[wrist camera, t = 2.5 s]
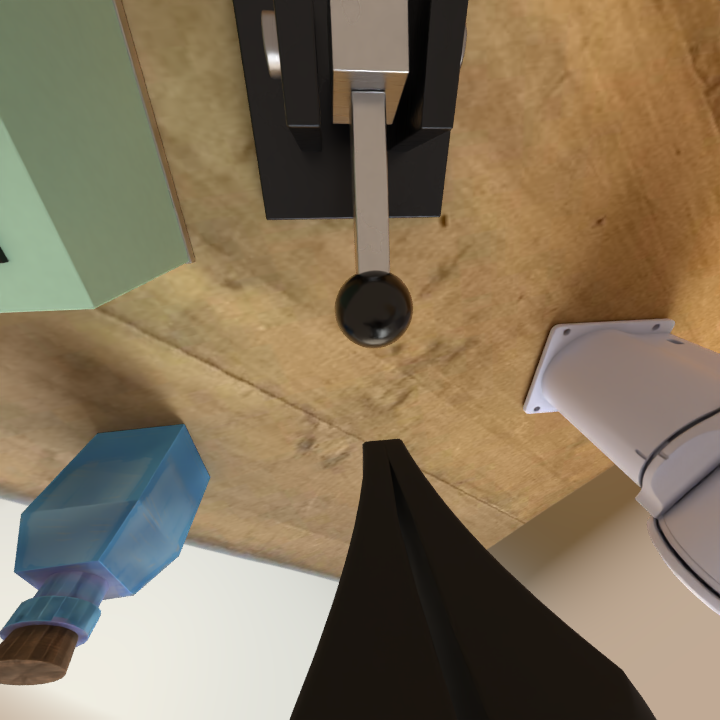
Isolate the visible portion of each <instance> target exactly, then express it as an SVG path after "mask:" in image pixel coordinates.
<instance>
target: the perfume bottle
mask: <svg viewBox="0 0 720 720" xmlns="http://www.w3.org/2000/svg"><path fill="white" fill-rule="evenodd" d="M209 479H210V476H209V474H208V472H207V470H206V468H205V466H204V464H203V462H202V460H201V458H200V455H199V453H198V451H197V449H196V447H195V445H194V443H193V441H192V439H191V437H190V435H189V433H188V430H187V428H186V426H185V424H180V425H170V426H161V427H152V428H142V429H133V430H124V431H115V432H105V433H97V434H96V435H95V436H94V438H93V439H92V440H91V441H90V442H89V443H88V444H87V445H86V446H85V447H84V448H83V449H82V450H81V451H80V452H79V453H78V454H77V456H76V457H75V458H74V459H73V460H72V461H71V462H70V463H69V464H68V465H67V466H66V467H65V468H64V469H63V470H62V471H61V472H60V474H59V475H58V476H57V477H56V478H55V479H54V480H53V481H52V482H51V483H50V484H49V485H48V486H47V487H46V488H45V489H44V490H43V492H42V493H41V494H40V495H39V496H38V497H37V498H36V499H35V500H34V501H33V502H32V503H31V504H30V505H29V506H28V507H27V508H26V510H25V511H24V512H23V513H22V514H21V519H20V528H19V535H18V544H17V552H16V560H15V568H14V572H15V573H16V574H18V575H19V576H20V577H21V578H23V579H24V580H26V581H27V582H28V583H29V584H31V585H32V586H34V587H35V588H36V589H38V592H37V593H36V595H35V596H34V597H33V598H31V599H28V600H26V601H24V602H22V603H21V604H20V606H19V607H18V608H17V610H16V611H15V613H14V614H13V615H12V617H11V618H10V620H9V621H8V622H7V623H6V625H5V626H4V627H3V629H2V630H1V631H0V637H1V638H2V639H3V640H4V641H3V642H2V643H1V644H0V684H7V685H37V684H45V683H49V682H54V681H56V680H59V679H61V678H62V677H64V676H65V674H66V671H67V668H68V666H69V663H70V661H71V658H72V655H73V652H74V649H75V647H77V646H79V645H81V644H84V643H85V642H86V641H87V640H88V638H89V636H90V634H91V632H92V631H93V629H94V627H95V625H96V623H97V621H98V619H99V617H100V615H101V611H100V610H99V608H98V607H99V605H100V603H101V601H102V600H106V599H112V598H119V597H126V596H133V595H134V594H136V593H137V592H138V591H139V590H140V589H141V588H143V587H144V586H145V585H146V584H147V583H148V582H149V581H150V580H152V579H153V578H154V577H155V576H156V575H157V574H159V573H160V572H161V571H162V570H163V569H164V568H166V567H167V566H168V565H169V564H170V563H171V562H172V561H174V560H175V559H176V558H177V557H178V556H179V554H180V552H181V549H182V547H183V544H184V542H185V539H186V537H187V534H188V532H189V529H190V527H191V524H192V522H193V519H194V517H195V514H196V512H197V509H198V507H199V504H200V502H201V499H202V497H203V494H204V492H205V489H206V487H207V484H208V482H209Z"/></svg>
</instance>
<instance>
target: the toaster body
mask: <svg viewBox="0 0 720 720" xmlns="http://www.w3.org/2000/svg"><path fill="white" fill-rule="evenodd" d="M193 262H195V258H194V254H193V251H192V247H191V244H190V240H189V236H188V233H187V229H186V226H185V222H184V219H183V215H182V212H181V208H180V205H179V201H178V198H177V194H176V191H175V187H174V184H173V180H172V177H171V173H170V170H169V166H168V163H167V159H166V156H165V152H164V149H163V145H162V142H161V138H160V135H159V131H158V128H157V124H156V121H155V117H154V114H153V110H152V107H151V103H150V100H149V96H148V93H147V89H146V86H145V82H144V79H143V75H142V72H141V68H140V65H139V61H138V58H137V54H136V51H135V47H134V44H133V40H132V37H131V33H130V30H129V26H128V22H127V19H126V15H125V12H124V8H123V5H122V1H121V0H0V313H5V312H30V311H55V310H79V309H95V308H97V307H99V306H101V305H103V304H105V303H107V302H109V301H111V300H113V299H115V298H117V297H119V296H121V295H123V294H125V293H127V292H129V291H131V290H133V289H135V288H137V287H139V286H141V285H143V284H145V283H147V282H149V281H151V280H153V279H155V278H157V277H159V276H161V275H163V274H165V273H167V272H169V271H171V270H173V269H175V268H177V267H179V266H181V265H183V264H186V263H193Z"/></svg>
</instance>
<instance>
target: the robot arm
mask: <svg viewBox="0 0 720 720" xmlns="http://www.w3.org/2000/svg"><path fill="white" fill-rule="evenodd" d="M674 325H675V321H674V320H671V319H668V318H666V319H646V320H627V321H608V322H588V323H569V324H557V325H555V326H554V327H553V328H552V329H551V331H550V334H549V336H548V339H547V342H546V345H545V348H544V350H543V353H542V356H541V359H540V362H539V364H538V367H537V370H536V373H535V376H534V378H533V381H532V384H531V387H530V390H529V392H528V395H527V398H526V401H525V403H524V406H523V410H524V411H525V412H526V413H528V414H530V413H543V412H555V411H559V412H560V413H561V414H562V415H563V416H564V417H565V418H566V419H567V420H569V421H570V422H571V423H572V424H573V425H574V426H575V427H576V428H577V429H578V430H579V431H580V432H581V433H582V434H584V435H585V436H586V437H587V438H588V439H589V440H590V441H591V442H592V443H593V444H594V445H595V446H596V447H598V448H599V449H600V450H601V451H602V452H603V453H604V454H605V455H606V456H607V457H608V458H609V459H610V460H611V461H613V462H614V463H615V464H616V465H617V466H618V467H619V468H620V469H621V470H622V471H623V472H624V473H625V474H627V475H628V476H629V477H630V478H631V479H632V480H633V481H634V482H635V483H636V484H637V485H638V486H639V487H641V488H642V489H641V491H640V492H639V494H638V495H637V496H636V497H635V499H636V500H637V501H638V502H639V503H640V504H641V505H642V506H643V507H644V508H645V509H646V510H647V511H648V512H649V513H650V514H651V515H650V516H649V518H648V520H647V528H648V533H649V535H650V537H651V540H652V542H653V544H654V545H655V547H656V549H657V551H658V552H659V554H660V555H661V557H662V559H663V560H664V562H665V563H666V564H667V566H668V567H669V568H670V570H671V571H672V572H673V573H674V574H675V576H676V577H677V578H678V579H679V580H680V581H681V582H682V583H683V584H684V585H685V586H686V587H687V588H688V589H689V590H690V591H691V592H692V593H693V594H694V595H695V596H697V598H699V599H700V600H701V601H702V602H703V603H704V604H706V605H707V606H708V607H709V608H711V609H712V610H713V611H714V612H716V613H717V614H718V615H720V354H719V353H716V352H714V351H712V350H709V349H707V348H704V347H702V346H699V345H697V344H694V343H692V342H689V341H687V340H684V339H682V338H680V337H677V336H675V335H672V334H670V332H671V330H672V329H673V327H674ZM565 330H566V331H565ZM564 331H565V332H564ZM563 332H564V333H563ZM290 720H656V718H655V717H654V715H653V713H652V712H651V710H650V708H649V707H648V706H647V704H646V702H645V701H644V700H643V698H642V697H641V695H640V694H639V692H638V691H637V690H636V688H635V687H634V686H633V684H632V683H631V681H630V680H629V679H628V677H627V676H626V674H625V673H624V671H623V670H622V669H620V668H619V667H618V666H617V665H616V664H614V663H613V662H612V661H611V660H609V659H608V658H607V657H606V656H604V655H603V654H602V653H601V652H599V651H598V650H597V649H596V648H595V647H593V646H592V645H591V644H590V643H588V642H587V641H586V640H585V639H584V638H582V637H581V636H580V635H579V634H578V633H576V632H575V631H574V630H573V629H571V628H570V627H569V626H568V625H567V624H566V623H565V622H563V621H562V620H561V619H560V618H559V617H558V616H556V615H555V614H554V613H553V612H552V611H551V610H550V609H548V608H547V607H546V606H545V605H544V604H543V603H542V602H540V601H539V600H538V599H537V598H536V597H535V596H534V595H533V594H532V593H531V592H530V591H529V590H527V589H526V588H525V587H524V586H523V585H522V584H521V583H520V582H519V581H518V580H517V579H516V578H515V577H514V576H513V575H511V574H510V573H509V572H508V571H507V570H506V569H505V568H504V567H503V566H502V565H501V564H500V563H499V562H498V561H497V560H496V559H495V558H494V557H493V556H492V555H491V554H490V553H489V552H488V551H487V550H486V549H485V548H484V547H483V546H482V545H481V544H480V542H479V541H478V540H477V539H476V538H475V537H474V536H473V535H472V534H471V533H470V532H469V531H468V529H467V528H466V527H465V526H464V525H463V524H462V523H461V521H460V520H459V519H458V518H457V517H456V516H455V514H454V513H453V512H452V511H451V510H450V508H449V507H448V506H447V505H446V504H445V502H444V501H443V500H442V498H441V497H440V496H439V495H438V493H437V492H436V491H435V489H434V488H433V487H432V485H431V484H430V483H429V481H428V480H427V479H426V477H425V476H424V474H423V473H422V472H421V470H420V469H419V467H418V466H417V464H416V463H415V461H414V460H413V458H412V457H411V455H410V453H409V452H408V450H407V449H406V447H405V445H404V443H403V442H402V440H400V439H391V440H380V441H369V442H365V443H364V444H363V480H362V487H361V494H360V501H359V506H358V511H357V516H356V521H355V526H354V530H353V534H352V538H351V542H350V546H349V550H348V554H347V557H346V561H345V565H344V568H343V571H342V575H341V578H340V581H339V585H338V588H337V591H336V594H335V598H334V601H333V604H332V607H331V610H330V613H329V616H328V618H327V621H326V624H325V627H324V630H323V633H322V636H321V639H320V641H319V644H318V647H317V650H316V653H315V655H314V658H313V661H312V663H311V666H310V668H309V671H308V673H307V676H306V679H305V681H304V684H303V686H302V689H301V691H300V694H299V697H298V699H297V702H296V704H295V707H294V710H293V712H292V715H291V717H290Z"/></svg>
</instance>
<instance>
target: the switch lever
mask: <svg viewBox="0 0 720 720" xmlns="http://www.w3.org/2000/svg"><path fill="white" fill-rule="evenodd" d="M327 36H328V55H329V74H330V93H331V111H332V123H333V124H349V127H350V150H351V173H352V196H353V219H354V241H355V264H356V274H355V275H353V276H352V277H350V278H349V279H348V280H347V281H346V282H345V283H344V284H343V285H342V287H341V289H340V290H339V292H338V295H337V298H336V302H335V316H336V320H337V323H338V326H339V328H340V329H341V331H342V332H343V334H344V335H345V336H346V337H347V338H348V339H349V340H351V341H352V342H354V343H355V344H357V345H360V346H362V347H366V348H381V347H385V346H387V345H390V344H392V343H394V342H395V341H397V340H398V339H399V338H400V337H401V336H402V335H403V334H404V333H405V332H406V330H407V328H408V327H409V324H410V322H411V319H412V314H413V303H412V298H411V295H410V292H409V290H408V288H407V287H406V285H405V284H404V283H403V282H402V280H400V279H399V278H398V277H397V276H395V275H394V274H392V273H390V251H389V208H388V165H387V124H392V123H393V120H394V117H395V114H396V111H397V108H398V105H399V102H400V99H401V96H402V93H403V90H404V87H405V84H406V81H407V77H408V74H409V71H410V66H409V0H327Z"/></svg>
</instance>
